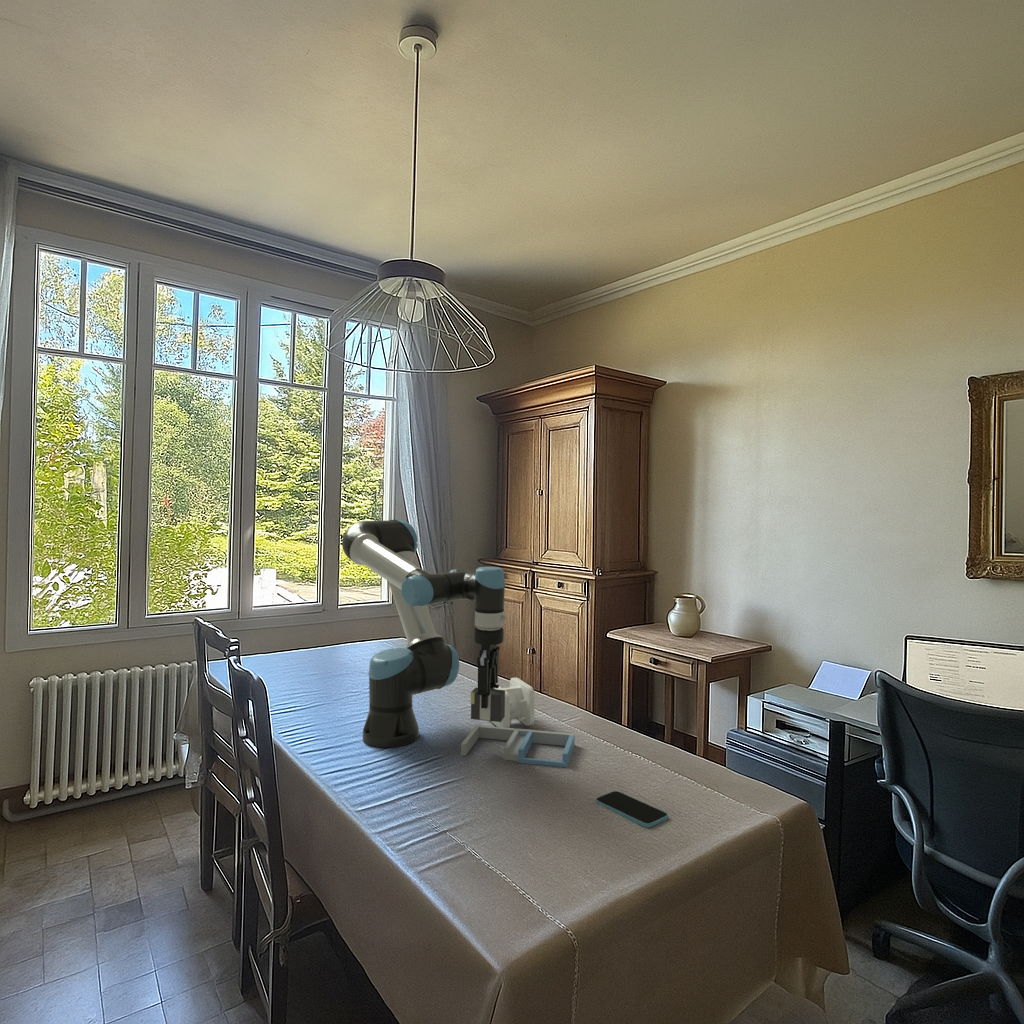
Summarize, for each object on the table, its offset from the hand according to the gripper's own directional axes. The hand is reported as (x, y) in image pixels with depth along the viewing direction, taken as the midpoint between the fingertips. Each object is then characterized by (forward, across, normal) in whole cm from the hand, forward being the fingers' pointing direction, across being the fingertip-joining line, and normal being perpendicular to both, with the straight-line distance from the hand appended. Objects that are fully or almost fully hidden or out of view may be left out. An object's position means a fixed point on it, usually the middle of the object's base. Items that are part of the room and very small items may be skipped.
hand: (487, 716), depth 168 cm
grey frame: (+9, +3, -8) cm, 12 cm away
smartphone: (+9, -23, -38) cm, 45 cm away
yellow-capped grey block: (0, 0, 0) cm, 0 cm away
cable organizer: (+10, +21, -1) cm, 23 cm away
